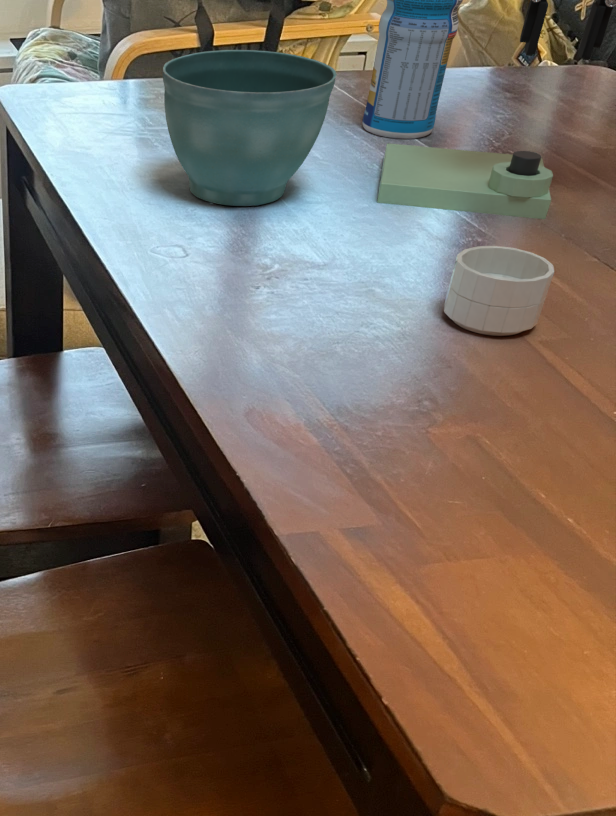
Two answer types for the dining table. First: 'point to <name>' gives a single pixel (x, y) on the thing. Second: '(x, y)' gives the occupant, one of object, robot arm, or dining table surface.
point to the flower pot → (244, 120)
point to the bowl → (498, 290)
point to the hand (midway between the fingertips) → (557, 52)
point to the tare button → (525, 163)
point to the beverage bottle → (410, 67)
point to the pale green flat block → (462, 182)
